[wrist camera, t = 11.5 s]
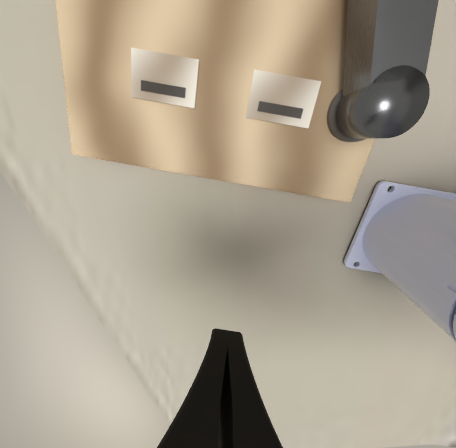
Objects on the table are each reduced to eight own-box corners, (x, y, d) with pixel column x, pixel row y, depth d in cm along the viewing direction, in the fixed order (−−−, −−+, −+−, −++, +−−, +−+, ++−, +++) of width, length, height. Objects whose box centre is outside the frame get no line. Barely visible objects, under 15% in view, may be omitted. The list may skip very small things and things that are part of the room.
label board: (468, -133, 11) (509, -182, 9) (343, 198, 18) (353, 204, 16) (50, -211, 11) (15, -275, 9) (82, 153, 17) (66, 154, 16)
